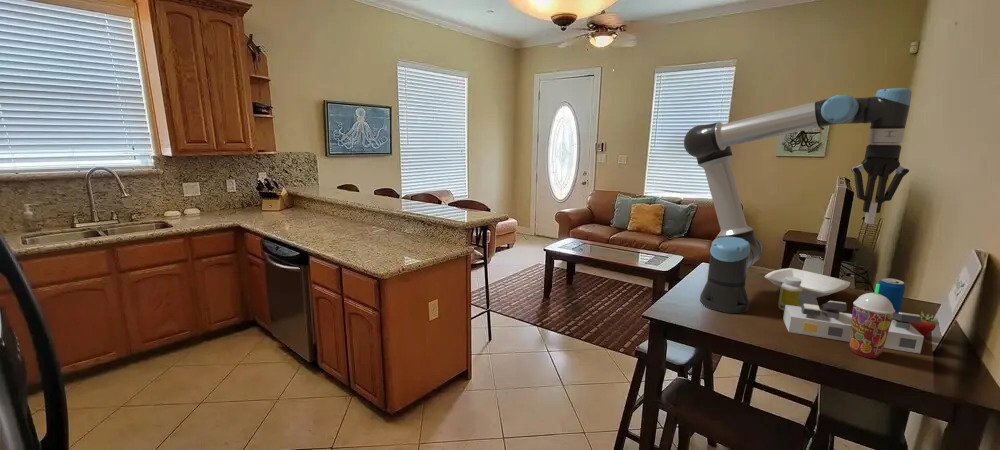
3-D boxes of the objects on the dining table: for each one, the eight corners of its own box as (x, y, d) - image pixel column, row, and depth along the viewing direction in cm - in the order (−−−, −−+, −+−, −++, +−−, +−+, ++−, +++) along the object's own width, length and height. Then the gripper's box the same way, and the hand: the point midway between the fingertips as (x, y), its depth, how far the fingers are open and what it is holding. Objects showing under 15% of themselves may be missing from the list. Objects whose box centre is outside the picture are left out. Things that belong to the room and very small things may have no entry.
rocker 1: (802, 313, 124) (804, 307, 123) (798, 297, 131) (799, 291, 130) (819, 316, 122) (820, 310, 122) (813, 299, 129) (815, 293, 128)
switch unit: (788, 332, 125) (792, 312, 124) (783, 319, 134) (785, 300, 133) (920, 354, 113) (925, 331, 111) (904, 337, 122) (908, 317, 120)
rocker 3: (901, 320, 114) (901, 312, 114) (887, 317, 122) (888, 310, 122) (920, 323, 112) (921, 315, 112) (905, 320, 120) (906, 312, 120)
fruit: (928, 343, 118) (934, 317, 117) (903, 336, 123) (909, 310, 121) (935, 339, 121) (941, 314, 119) (910, 332, 125) (916, 307, 124)
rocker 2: (829, 307, 121) (829, 300, 121) (821, 310, 128) (821, 303, 129) (846, 310, 119) (846, 302, 119) (837, 313, 126) (837, 305, 127)
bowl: (785, 279, 172) (786, 266, 171) (854, 297, 152) (857, 282, 151) (756, 289, 160) (758, 275, 159) (827, 310, 141) (830, 295, 140)
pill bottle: (803, 313, 139) (808, 282, 136) (784, 312, 139) (789, 281, 137) (792, 305, 145) (796, 275, 143) (773, 305, 145) (778, 275, 143)
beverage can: (903, 320, 133) (911, 284, 131) (880, 318, 135) (887, 283, 132) (889, 311, 140) (896, 278, 137) (867, 310, 141) (874, 276, 138)
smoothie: (836, 346, 117) (849, 279, 113) (864, 344, 118) (877, 278, 114) (864, 361, 109) (879, 290, 105) (893, 360, 110) (909, 289, 105)
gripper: (859, 144, 120) (845, 223, 125) (919, 144, 114) (902, 227, 119) (851, 143, 127) (838, 219, 132) (908, 144, 121) (892, 222, 126)
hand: (868, 223), depth 126 cm, fingers closed
